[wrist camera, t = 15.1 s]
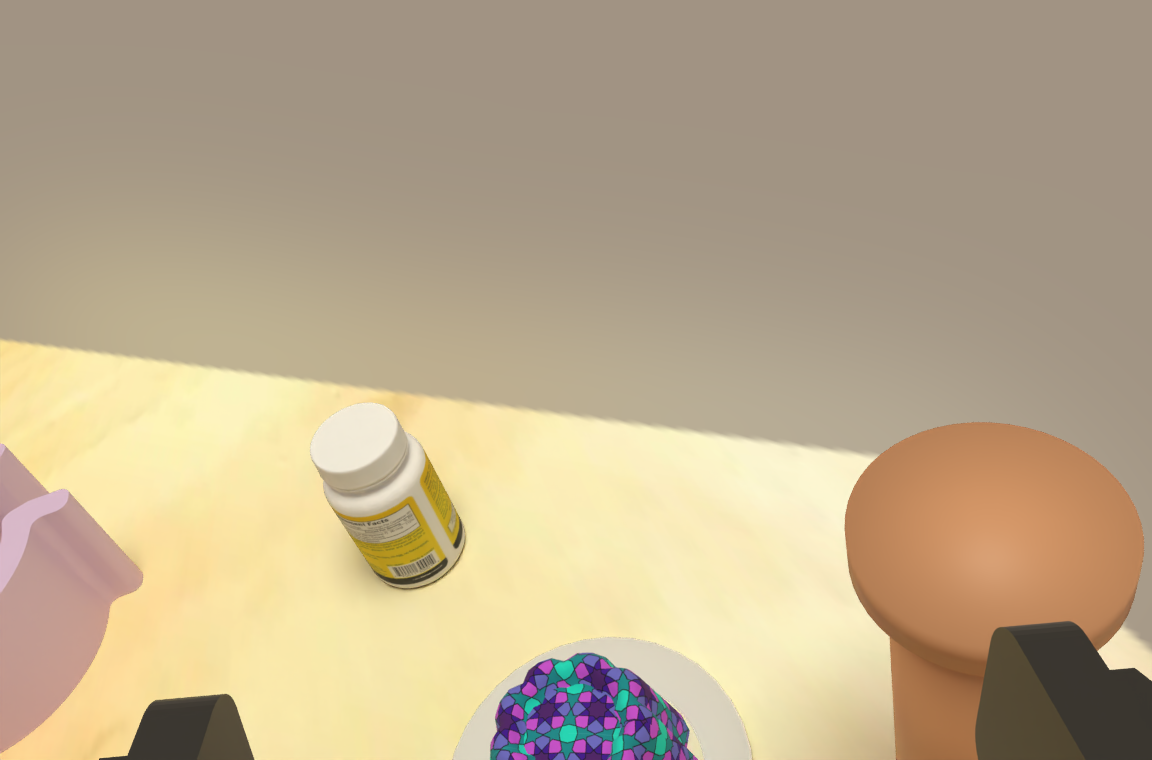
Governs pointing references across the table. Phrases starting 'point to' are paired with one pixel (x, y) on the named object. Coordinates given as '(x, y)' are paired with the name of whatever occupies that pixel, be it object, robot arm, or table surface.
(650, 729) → the pudding
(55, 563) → the clip
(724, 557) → the table surface
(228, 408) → the table surface
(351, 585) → the table surface
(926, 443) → the orange capped cylinder
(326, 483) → the supplement bottle
